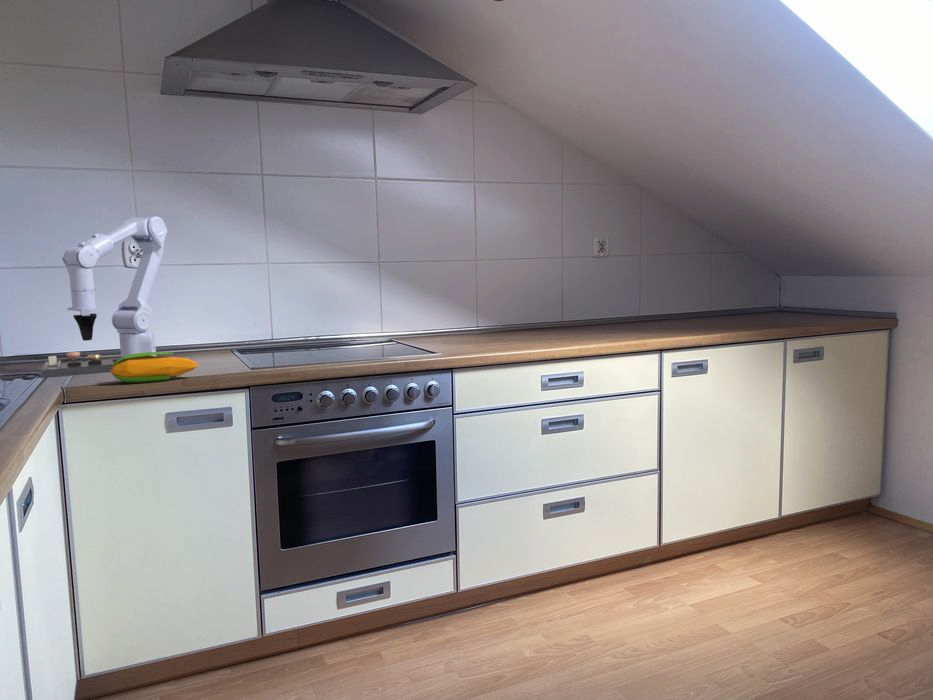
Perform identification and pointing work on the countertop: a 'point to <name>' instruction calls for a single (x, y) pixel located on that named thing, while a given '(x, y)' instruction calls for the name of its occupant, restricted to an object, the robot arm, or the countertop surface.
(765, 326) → the countertop surface
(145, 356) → the corn
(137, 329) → the robot arm
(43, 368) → the panel
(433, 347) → the countertop surface
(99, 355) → the brass button
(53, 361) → the slider knob
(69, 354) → the terracotta button
